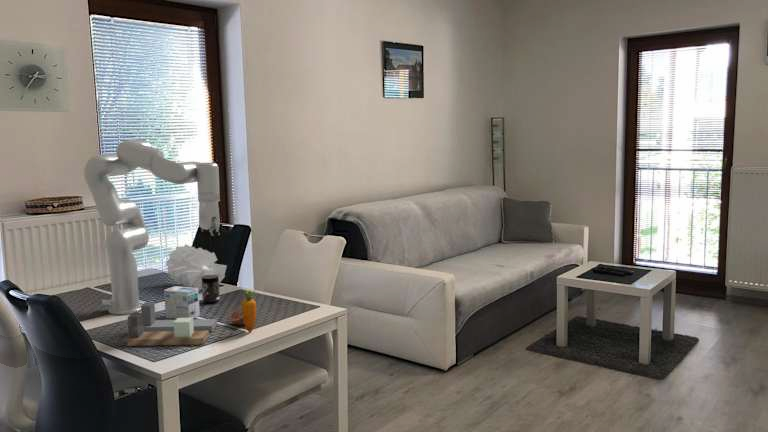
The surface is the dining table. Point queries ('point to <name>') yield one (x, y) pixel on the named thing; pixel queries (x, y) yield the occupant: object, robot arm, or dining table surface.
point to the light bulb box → (181, 302)
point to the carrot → (249, 311)
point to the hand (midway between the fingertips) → (210, 244)
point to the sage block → (183, 327)
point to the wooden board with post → (159, 335)
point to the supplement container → (210, 289)
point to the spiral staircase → (193, 266)
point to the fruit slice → (236, 317)
